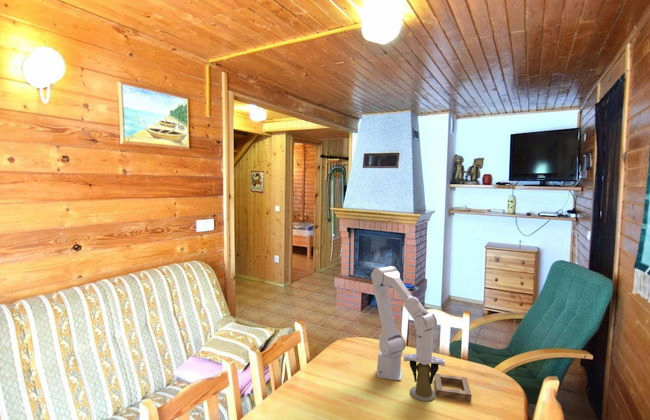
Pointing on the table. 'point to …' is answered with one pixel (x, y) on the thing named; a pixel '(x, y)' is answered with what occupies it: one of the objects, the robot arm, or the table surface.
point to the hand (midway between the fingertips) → (423, 381)
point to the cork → (423, 380)
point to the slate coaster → (420, 396)
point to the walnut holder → (452, 393)
